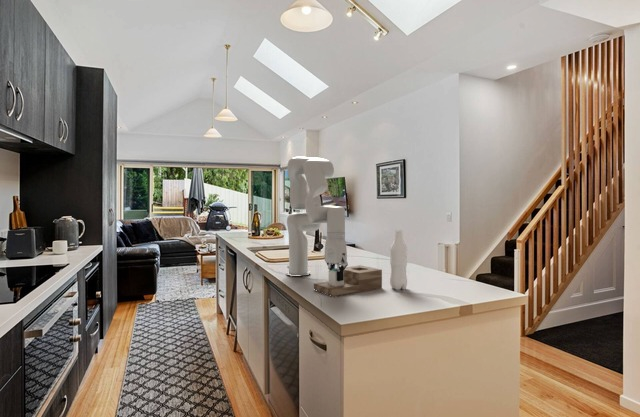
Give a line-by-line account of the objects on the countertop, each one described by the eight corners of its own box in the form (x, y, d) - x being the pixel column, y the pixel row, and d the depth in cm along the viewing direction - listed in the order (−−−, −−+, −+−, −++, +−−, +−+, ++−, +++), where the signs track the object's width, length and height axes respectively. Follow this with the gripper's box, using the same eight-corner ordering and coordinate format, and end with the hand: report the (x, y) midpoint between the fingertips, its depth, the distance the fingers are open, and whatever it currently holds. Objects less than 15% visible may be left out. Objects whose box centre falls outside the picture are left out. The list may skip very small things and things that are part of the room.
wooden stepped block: (313, 290, 163) (313, 271, 163) (360, 282, 178) (360, 265, 178) (333, 297, 151) (333, 276, 151) (381, 288, 166) (381, 269, 166)
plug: (328, 287, 161) (328, 268, 161) (337, 285, 164) (337, 267, 164) (335, 289, 158) (335, 270, 157) (343, 287, 160) (343, 268, 160)
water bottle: (408, 290, 162) (408, 231, 161) (391, 290, 162) (391, 231, 161) (405, 286, 169) (405, 229, 168) (388, 286, 169) (388, 229, 168)
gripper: (316, 235, 165) (317, 277, 165) (341, 238, 151) (341, 284, 152) (331, 234, 169) (331, 275, 170) (356, 236, 156) (356, 282, 156)
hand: (336, 279), depth 161 cm, fingers closed on plug, 4 cm apart
